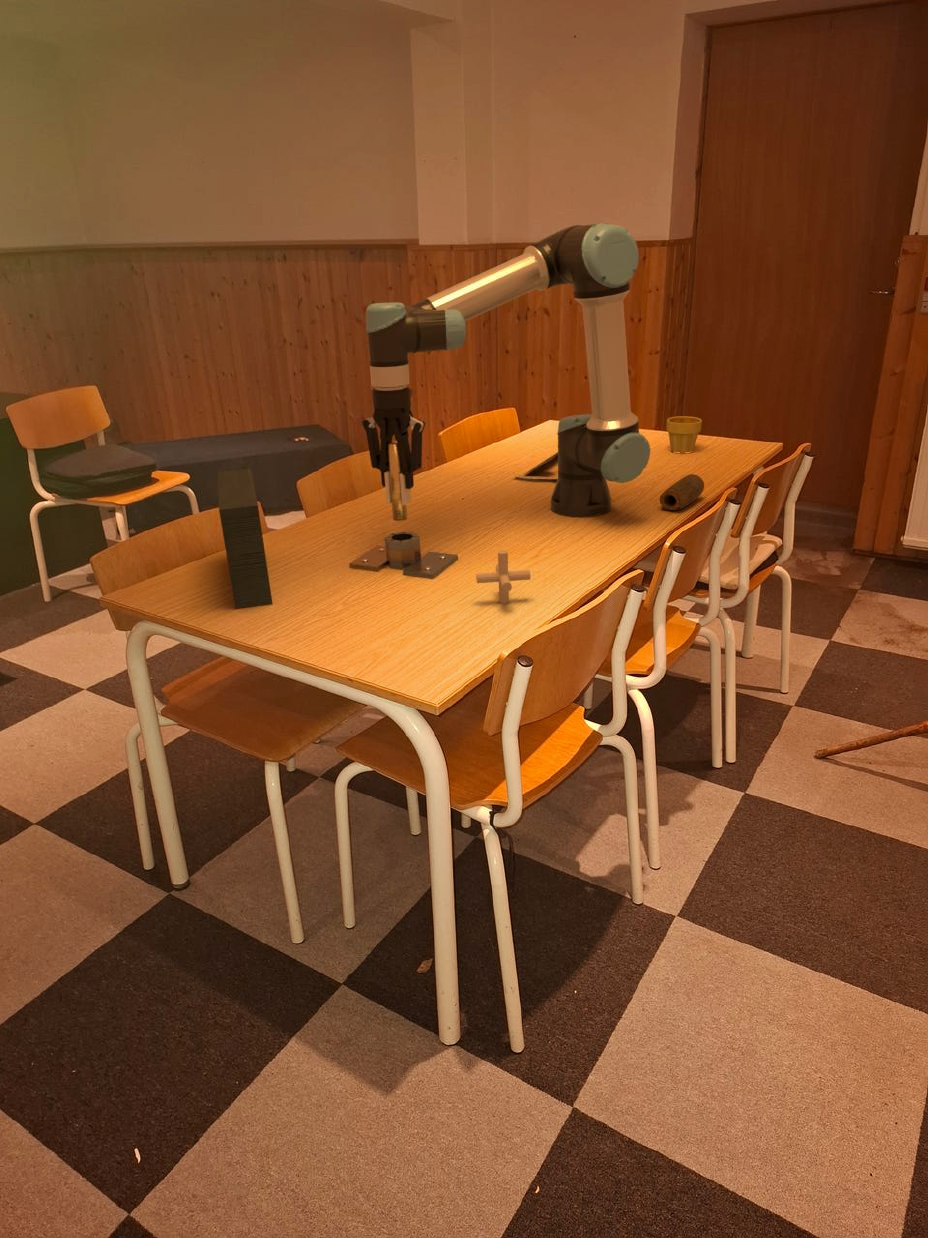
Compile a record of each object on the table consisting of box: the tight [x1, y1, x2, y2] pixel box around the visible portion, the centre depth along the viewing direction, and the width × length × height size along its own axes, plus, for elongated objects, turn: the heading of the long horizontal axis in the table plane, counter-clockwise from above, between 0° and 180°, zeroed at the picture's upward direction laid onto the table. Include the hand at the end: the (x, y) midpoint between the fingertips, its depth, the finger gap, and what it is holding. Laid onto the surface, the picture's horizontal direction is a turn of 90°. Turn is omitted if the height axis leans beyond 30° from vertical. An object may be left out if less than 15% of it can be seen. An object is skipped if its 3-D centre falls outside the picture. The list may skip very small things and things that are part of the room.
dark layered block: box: [217, 468, 273, 610], centre depth 171 cm, size 29×7×20 cm, turn 15°
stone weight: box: [659, 473, 705, 511], centre depth 209 cm, size 15×7×7 cm, turn 147°
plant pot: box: [666, 415, 703, 453], centre depth 258 cm, size 10×10×10 cm
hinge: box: [348, 530, 459, 580], centre depth 179 cm, size 20×12×6 cm, turn 65°
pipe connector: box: [475, 549, 531, 604], centre depth 158 cm, size 10×10×10 cm
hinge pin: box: [387, 440, 408, 522], centre depth 173 cm, size 3×3×16 cm
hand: (399, 502), depth 175 cm, fingers closed on hinge pin, 3 cm apart
